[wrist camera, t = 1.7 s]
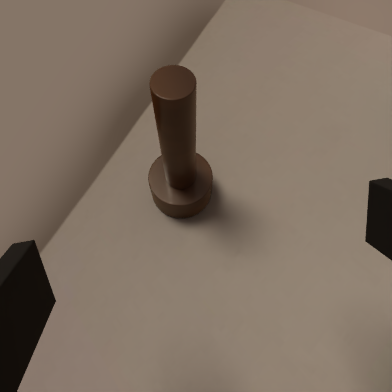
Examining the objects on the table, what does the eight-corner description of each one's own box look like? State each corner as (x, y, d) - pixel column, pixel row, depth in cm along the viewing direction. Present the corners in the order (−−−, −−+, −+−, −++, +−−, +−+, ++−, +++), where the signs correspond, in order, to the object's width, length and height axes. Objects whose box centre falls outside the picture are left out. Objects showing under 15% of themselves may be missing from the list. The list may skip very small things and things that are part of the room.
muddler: (156, 223, 29) (127, 130, 16) (148, 170, 31) (117, 52, 18) (216, 212, 29) (234, 113, 17) (204, 161, 32) (211, 40, 19)
